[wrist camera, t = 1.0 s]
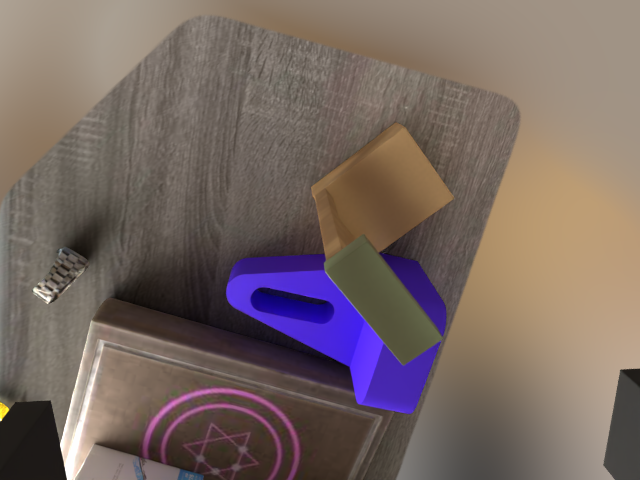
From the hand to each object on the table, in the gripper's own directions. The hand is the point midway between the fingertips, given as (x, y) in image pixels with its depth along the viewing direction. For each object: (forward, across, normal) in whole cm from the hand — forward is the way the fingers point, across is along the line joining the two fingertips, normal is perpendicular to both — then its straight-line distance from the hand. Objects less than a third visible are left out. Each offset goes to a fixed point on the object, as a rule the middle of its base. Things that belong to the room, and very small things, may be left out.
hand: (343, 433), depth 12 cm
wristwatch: (+40, -23, -10) cm, 47 cm away
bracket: (+40, +1, -14) cm, 42 cm away
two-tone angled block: (+39, +7, -3) cm, 40 cm away
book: (+40, -9, -29) cm, 50 cm away
